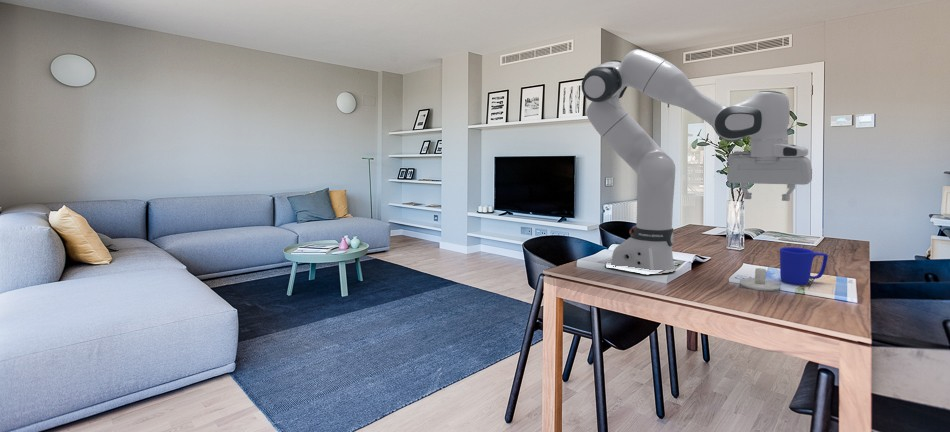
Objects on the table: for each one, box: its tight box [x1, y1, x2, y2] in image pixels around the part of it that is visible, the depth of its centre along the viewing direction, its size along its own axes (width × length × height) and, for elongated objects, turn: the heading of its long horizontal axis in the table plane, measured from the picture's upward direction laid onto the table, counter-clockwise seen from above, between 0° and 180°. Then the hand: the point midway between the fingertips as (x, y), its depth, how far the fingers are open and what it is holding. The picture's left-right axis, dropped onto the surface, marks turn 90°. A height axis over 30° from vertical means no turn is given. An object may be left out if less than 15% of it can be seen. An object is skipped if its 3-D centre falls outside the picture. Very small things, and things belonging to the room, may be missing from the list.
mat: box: [738, 283, 782, 294], centre depth 133 cm, size 10×10×1 cm
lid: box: [739, 268, 782, 292], centre depth 133 cm, size 10×10×5 cm
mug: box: [779, 246, 829, 286], centre depth 135 cm, size 8×12×10 cm
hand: (766, 199), depth 130 cm, fingers open, 8 cm apart
